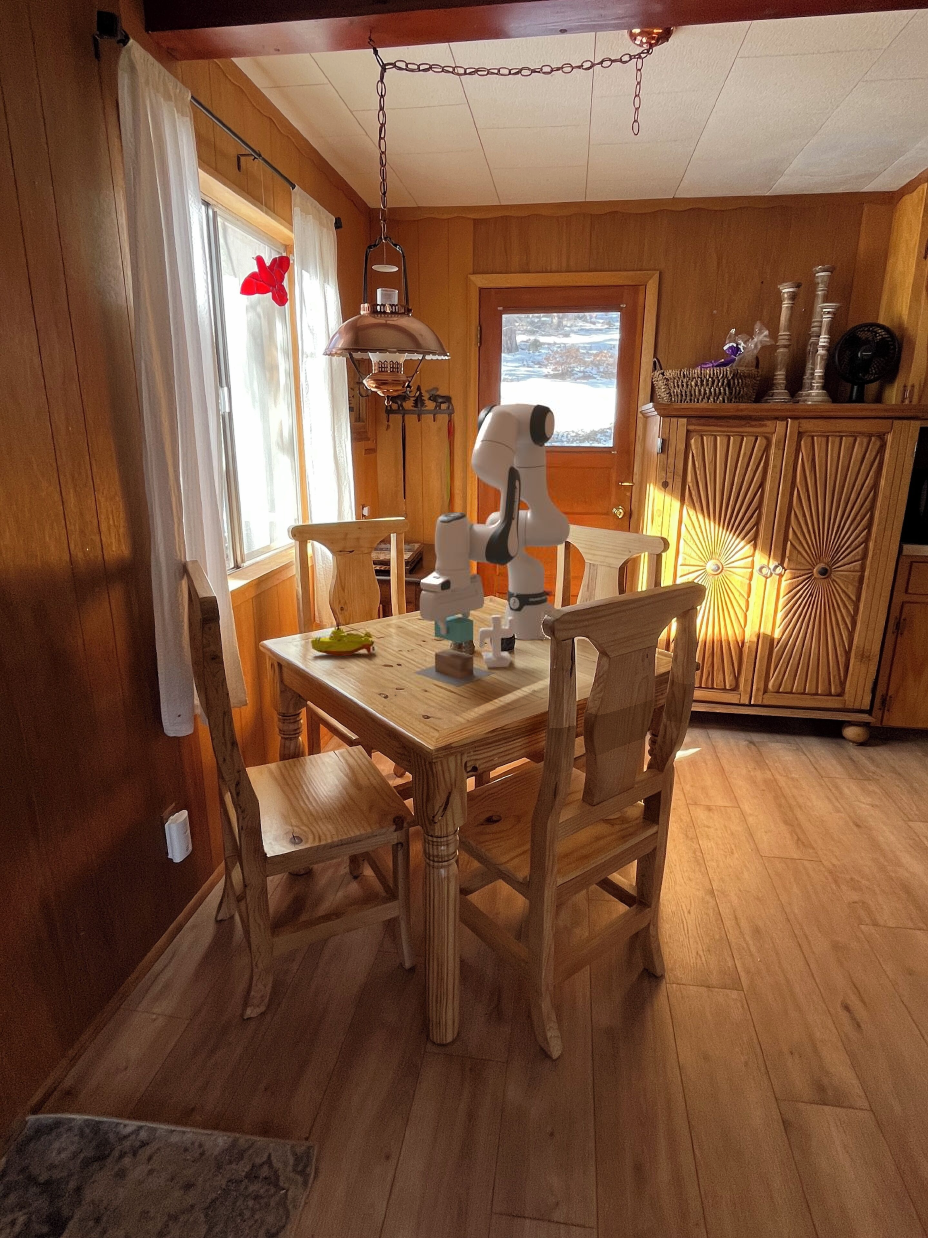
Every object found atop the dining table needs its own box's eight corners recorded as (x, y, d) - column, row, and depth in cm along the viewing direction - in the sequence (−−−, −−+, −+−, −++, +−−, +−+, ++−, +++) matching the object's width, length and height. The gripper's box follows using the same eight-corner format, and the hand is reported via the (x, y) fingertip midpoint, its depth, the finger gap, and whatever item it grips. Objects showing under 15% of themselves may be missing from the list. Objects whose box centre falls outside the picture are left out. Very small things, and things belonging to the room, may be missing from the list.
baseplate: (451, 665, 193) (451, 660, 193) (494, 678, 182) (495, 672, 182) (413, 678, 183) (413, 672, 183) (457, 692, 173) (457, 686, 172)
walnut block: (448, 666, 187) (448, 648, 186) (473, 674, 181) (473, 655, 180) (435, 671, 184) (434, 653, 182) (460, 679, 178) (459, 660, 176)
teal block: (448, 632, 185) (447, 614, 183) (473, 639, 179) (473, 620, 177) (434, 636, 181) (434, 617, 180) (459, 643, 175) (459, 623, 174)
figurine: (477, 665, 193) (477, 612, 189) (511, 664, 194) (511, 611, 190) (480, 674, 186) (480, 619, 182) (515, 672, 187) (516, 618, 183)
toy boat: (374, 657, 201) (372, 623, 198) (310, 659, 199) (308, 625, 197) (375, 650, 207) (373, 618, 204) (313, 652, 206) (311, 619, 203)
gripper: (471, 570, 185) (472, 621, 189) (415, 582, 171) (416, 637, 174) (489, 573, 181) (489, 625, 185) (433, 586, 167) (434, 642, 170)
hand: (453, 631), depth 179 cm, fingers closed on teal block, 5 cm apart
